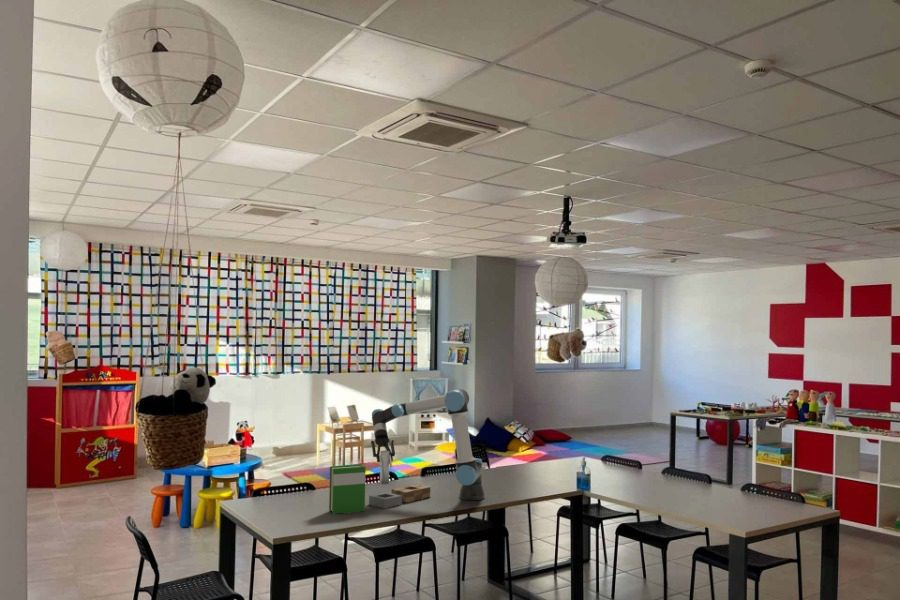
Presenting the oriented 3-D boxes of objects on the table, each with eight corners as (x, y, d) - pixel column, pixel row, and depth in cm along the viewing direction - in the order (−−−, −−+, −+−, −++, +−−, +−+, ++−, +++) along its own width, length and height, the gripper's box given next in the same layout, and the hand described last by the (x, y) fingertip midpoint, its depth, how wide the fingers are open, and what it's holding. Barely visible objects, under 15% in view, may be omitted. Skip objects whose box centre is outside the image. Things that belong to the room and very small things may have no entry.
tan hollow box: (430, 497, 404) (430, 487, 404) (405, 503, 389) (405, 492, 390) (415, 494, 412) (416, 484, 412) (391, 499, 397) (391, 489, 398)
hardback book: (332, 514, 361) (333, 468, 363) (329, 511, 368) (330, 466, 370) (364, 511, 369) (365, 466, 370) (360, 508, 375) (361, 464, 377)
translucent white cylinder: (390, 483, 386) (391, 451, 387) (384, 484, 382) (384, 452, 383) (384, 482, 389) (385, 450, 390) (378, 483, 385) (378, 451, 387)
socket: (401, 504, 385) (401, 495, 385) (384, 508, 375) (384, 499, 376) (386, 501, 394) (386, 492, 394) (368, 504, 384) (369, 495, 385)
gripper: (394, 436, 404) (400, 469, 388) (364, 437, 399) (369, 470, 382) (396, 428, 400) (402, 461, 383) (366, 429, 394) (371, 462, 378)
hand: (386, 466), depth 383 cm, fingers closed on translucent white cylinder, 5 cm apart
